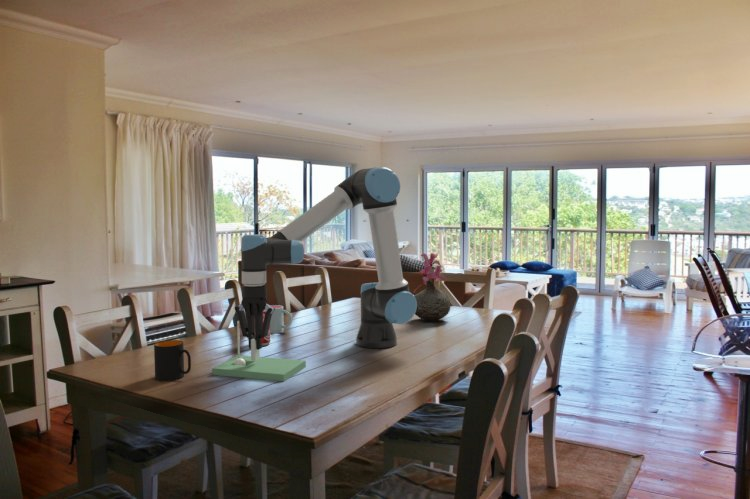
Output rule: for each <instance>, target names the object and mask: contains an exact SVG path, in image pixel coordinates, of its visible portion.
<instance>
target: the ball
mask: <svg viewBox="0 0 750 499" xmlns="http://www.w3.org/2000/svg"><path fill="white" fill-rule="evenodd" d="M234 365H241V366H245V365H246V362H245V360H244V359H242V358H238V359H236V360H235V361H234Z"/></svg>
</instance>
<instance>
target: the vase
mask: <svg viewBox="0 0 750 499" xmlns="http://www.w3.org/2000/svg"><path fill="white" fill-rule="evenodd" d="M438 255H439V253H436V254H435V253H433V252H431V253H430V256H429V257H428V255H427V254H426V253H422V254H420V257H422V258H423V260H424V261H423V266H424V268H423V269H421V270H419V272H420V274H421V275H423V276H422V284H419V285H418V286H417V287H416V288H415V289H414V291H413V293H415V292H416V291H417V289H419V287H421V286H423V285H425V286H426V287H425V289H423V290H421V291H420V292H418V293H416V294H415V295H414V297H415V298H416V301H417V309H416V312H415V314H414V315H415V316H417V317H418V318H419V319H421V320H422V321H423V322H425V323H437V322H439V321H440V320H441V319H443V318H445V317H446V316H447V315H448V314H449V312H450V310H451V300H450V298H449V296H447V294H445V292H443V291H441V290H439V289H437V288H436V286H435V284H434V282H439V281H441V280H442V281H445V280H446V276H445V275H443V274H441V273H442V272H443V269H442V268H440V267H442V265H441V263H440V262H439V260H437V259H436V258H437V257H438ZM435 264H436V265H437V266H435V267H434V268H433V266H434V265H435ZM439 274H440V275H439ZM432 279H434V280H433V281H434V282H432ZM440 279H441V280H440Z"/></svg>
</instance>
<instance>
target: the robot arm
mask: <svg viewBox="0 0 750 499" xmlns="http://www.w3.org/2000/svg"><path fill="white" fill-rule="evenodd" d="M400 191H401V182H400V179H399V177H398V175H397V174H396V172H395V171H394V170H391V169H390V168H388V167H383V166H375V167H372V168H371V167H370V168H362V169H359V170H357V171H355V172H353V173H352V174H351V175H349V176H348V177H346V178H345V179H344V180H343V181H342V182H340V183H339V184H338V185H335V187H334V190H333V192H330V194H329V195H327V196H326V197H324V198H323V199H321V200H319V202H318V203H315V205H313V206H312V207H310V208H309V209H308V210H306V211H305V212H303V213H301V215H299V216H298V217H297V218H295V219H294V220H292V221H291V222H290V223H288V224H287V225H286V226H284V227H283V228H281V229H280V230H278V231H277V232H276V233H273V235H271V236H270V237H267V236H266V234H245V235H242V237H241V243H240V244H241V245H240V246H241V248H240V254H241V255H240V256H241V257H240V258H241V284H242V286H241V297H242V300H241V301H240V302H241V303H240V304H239V305H236V306H234V310H235V312H236V314H237V317H238V321H239V322H240V327H241V328H240V330H241V333H242V334H241V335H242V337H244V338H247V339H248V349H249V350H250V356H251V360H254V361H256V360H258V359H260V357H261V356H260V354H261V353H260V350H261V349H262V347H263V346H262V338H264V337H266V336H267V335H268V330H269V326H270V321H271V316H272V313H273V312H274V310H275V308H274V307H271V306H270V305H271V304H269V302H268V299H267V298H268V297H267V295H268V294H267V292H268V291H267V290H268V289H267V288H268V287H267V265H293V264H300V263H302V262H303V260H304V257H305V247H304V244H303V242H304V241H305V240H306V239H308V238H309V237H310V236H311V235H313V234H314V233H316V232H318V231H319V230H320V229H322V228H323V227H325V225H327V224H328V223H329V222H331V221H333V219H335V218H336V217H337V216H339V215H340V214H342V213H344V211H346V210H352V209H353V208H355V207H356V206H358V205H362V210H363V211H364V212H366V213H367V214H368V219H369V226H370V233H371V239H372V245H373V252H374V258H375V265H376V272H377V273H376V274H377V280H378V282H367V283H362V284H361V286H360V292H359V294H360V325H359V328H358V331H357V335H356V338H355V344H356V346H359V347H362V348H367V349H385V348H391V347H395V346H396V345H397V344H398V337H397V335H396V331H395V328H394V326H393V324H396V325H403V324H406V323H408V322H409V321H411V320H412V319H413V317H414V315H415V312H416V309H417V301H416V298H415V297H414V296H415V295H414V293H412V292H410V286H409V282H408V281H407V280H406V278H404V276H403V275H404V274H403V268H402V261H401V255H400V248H399V242H398V240H399V239H398V233H397V228H396V227H397V226H396V220H395V212H394V210H395V208H396V207H397V205H398V202H397V198H398V196H399V194H400ZM265 308H266V310H265V312H266V313H265V317H264V321H263V326H262V316H263V311H264V309H265ZM247 323H248V324H247ZM254 337H255V338H254Z"/></svg>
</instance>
